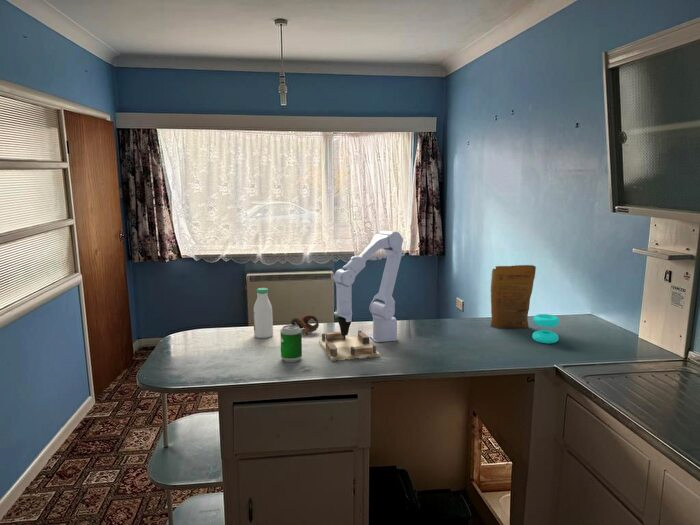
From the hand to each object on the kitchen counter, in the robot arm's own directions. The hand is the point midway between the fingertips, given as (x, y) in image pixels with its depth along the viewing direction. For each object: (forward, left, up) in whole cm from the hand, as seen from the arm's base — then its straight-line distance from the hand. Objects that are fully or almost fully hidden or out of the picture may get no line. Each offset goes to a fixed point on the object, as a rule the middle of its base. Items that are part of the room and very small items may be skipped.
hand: (344, 335), depth 190 cm
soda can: (+22, +8, -5) cm, 24 cm away
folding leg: (+2, -7, -4) cm, 8 cm away
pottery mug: (+11, -24, -5) cm, 27 cm away
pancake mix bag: (-77, -7, -5) cm, 78 cm away
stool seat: (-1, +3, -5) cm, 5 cm away
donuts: (-80, +13, -5) cm, 81 cm away
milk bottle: (+29, -23, -5) cm, 37 cm away
